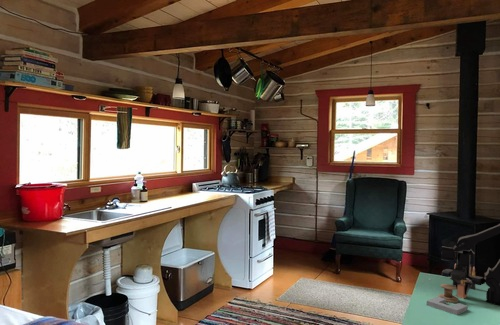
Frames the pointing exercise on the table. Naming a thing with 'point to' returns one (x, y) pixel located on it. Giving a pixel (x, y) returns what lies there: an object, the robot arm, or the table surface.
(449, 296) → the brown door knob
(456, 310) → the notched board
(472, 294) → the table surface
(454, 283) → the ammunition clip
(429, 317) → the table surface
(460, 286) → the tab
